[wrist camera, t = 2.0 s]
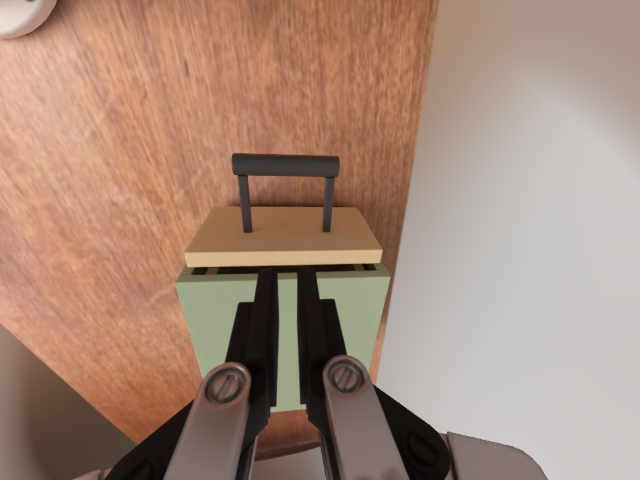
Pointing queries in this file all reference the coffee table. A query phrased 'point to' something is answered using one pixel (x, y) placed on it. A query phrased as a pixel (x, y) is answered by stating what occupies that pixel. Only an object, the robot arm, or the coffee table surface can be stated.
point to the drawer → (283, 226)
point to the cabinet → (281, 316)
